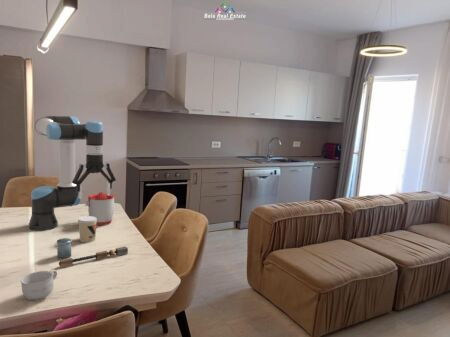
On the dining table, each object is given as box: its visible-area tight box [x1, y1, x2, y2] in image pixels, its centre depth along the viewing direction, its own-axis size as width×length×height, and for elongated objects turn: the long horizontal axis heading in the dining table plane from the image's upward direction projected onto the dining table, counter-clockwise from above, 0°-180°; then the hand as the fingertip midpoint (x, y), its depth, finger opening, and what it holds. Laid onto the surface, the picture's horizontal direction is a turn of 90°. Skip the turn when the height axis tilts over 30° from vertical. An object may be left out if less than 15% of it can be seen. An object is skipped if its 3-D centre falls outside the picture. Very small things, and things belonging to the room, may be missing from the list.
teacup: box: [20, 269, 58, 301], centre depth 132 cm, size 14×11×8 cm
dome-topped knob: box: [56, 237, 72, 260], centre depth 166 cm, size 6×6×8 cm
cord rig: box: [58, 245, 129, 269], centre depth 165 cm, size 3×32×3 cm, turn 129°
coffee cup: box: [77, 215, 97, 243], centre depth 188 cm, size 9×9×12 cm
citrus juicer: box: [84, 191, 115, 226], centre depth 215 cm, size 16×17×20 cm
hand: (94, 196), depth 171 cm, fingers open, 13 cm apart
